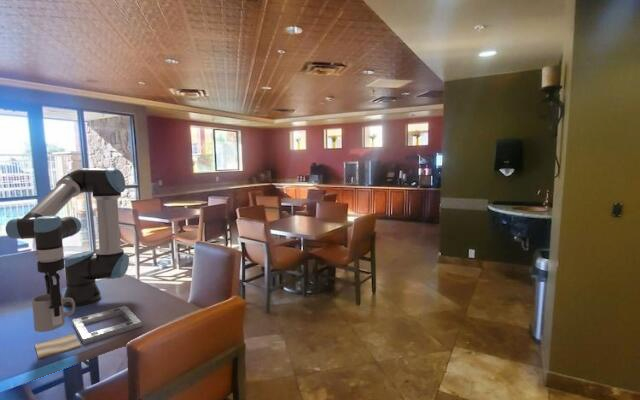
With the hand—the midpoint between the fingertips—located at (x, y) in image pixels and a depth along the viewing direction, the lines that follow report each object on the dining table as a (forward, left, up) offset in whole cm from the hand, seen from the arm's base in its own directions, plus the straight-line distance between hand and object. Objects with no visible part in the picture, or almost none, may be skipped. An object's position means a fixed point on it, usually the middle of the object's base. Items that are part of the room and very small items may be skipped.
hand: (55, 320), depth 123 cm
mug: (0, 0, -2) cm, 2 cm away
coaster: (0, 0, -10) cm, 10 cm away
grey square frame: (-6, +17, -10) cm, 21 cm away
